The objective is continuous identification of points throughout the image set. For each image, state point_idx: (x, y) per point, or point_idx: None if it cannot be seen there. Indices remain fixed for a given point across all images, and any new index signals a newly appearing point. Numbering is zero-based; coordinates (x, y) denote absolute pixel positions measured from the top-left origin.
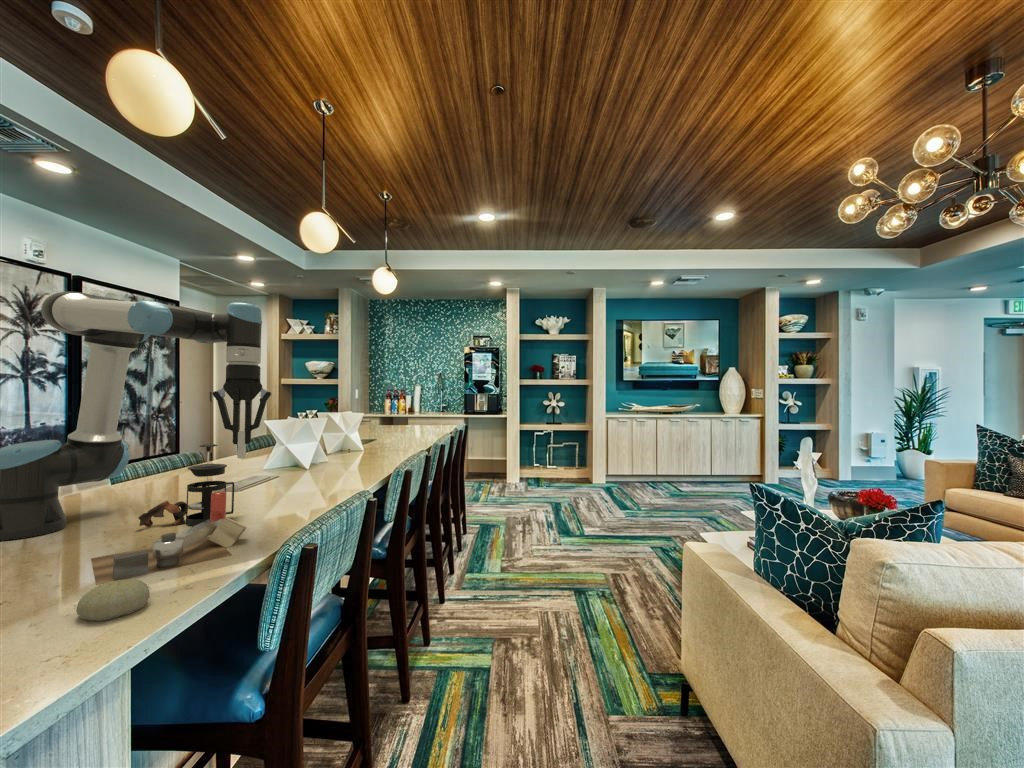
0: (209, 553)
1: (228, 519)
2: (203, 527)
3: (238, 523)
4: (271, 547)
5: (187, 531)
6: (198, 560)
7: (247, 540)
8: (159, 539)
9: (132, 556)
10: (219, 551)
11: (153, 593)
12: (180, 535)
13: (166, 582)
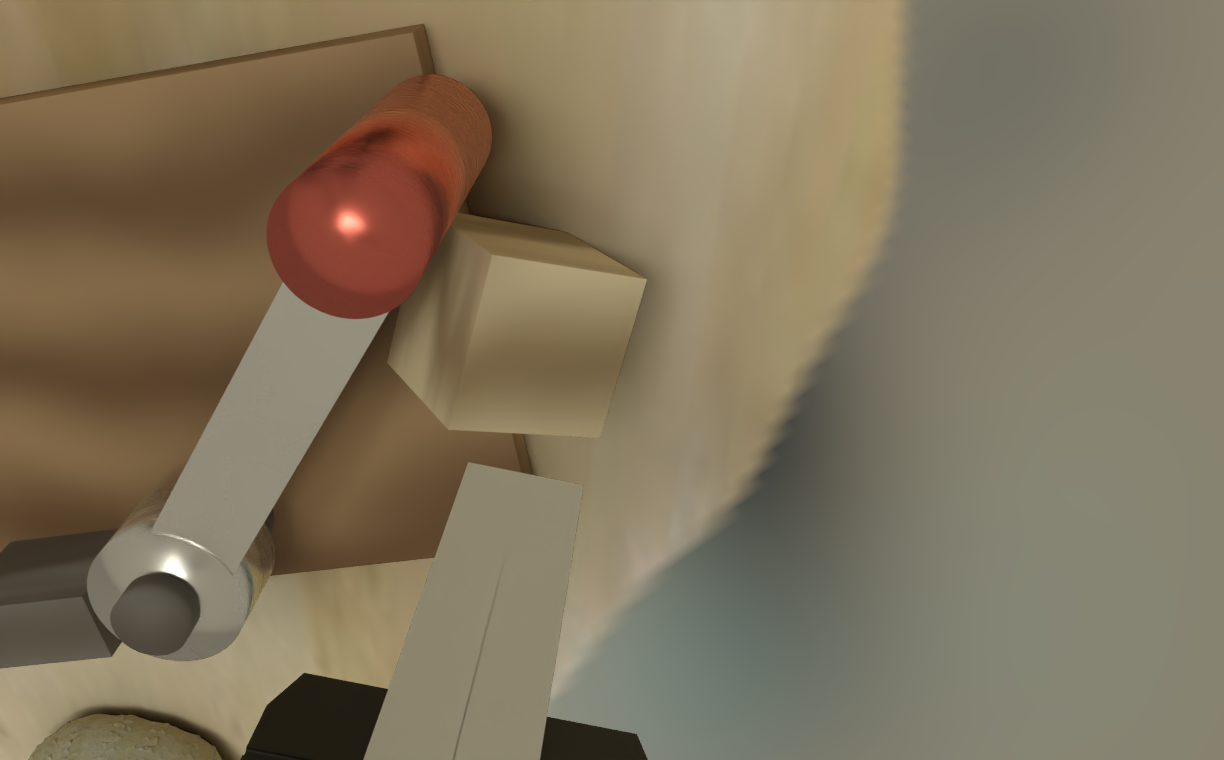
0: (418, 453)
1: (495, 324)
2: (328, 411)
3: (579, 294)
4: (784, 397)
5: (236, 454)
6: (371, 536)
7: (666, 141)
8: (105, 555)
9: (47, 662)
10: (472, 445)
11: (242, 702)
12: (210, 522)
13: (267, 618)
